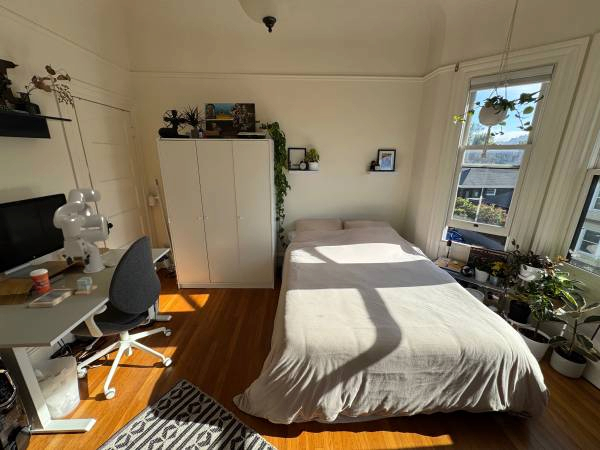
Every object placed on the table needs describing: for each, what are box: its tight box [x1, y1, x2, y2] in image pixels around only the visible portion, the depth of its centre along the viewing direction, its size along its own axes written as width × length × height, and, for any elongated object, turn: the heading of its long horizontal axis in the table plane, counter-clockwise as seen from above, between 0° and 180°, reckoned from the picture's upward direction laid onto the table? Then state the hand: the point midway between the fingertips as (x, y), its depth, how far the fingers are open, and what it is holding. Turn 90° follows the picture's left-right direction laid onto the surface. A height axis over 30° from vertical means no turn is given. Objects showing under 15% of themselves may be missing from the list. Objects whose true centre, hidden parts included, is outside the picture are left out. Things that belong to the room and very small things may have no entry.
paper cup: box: [29, 268, 51, 295], centre depth 150 cm, size 8×8×14 cm
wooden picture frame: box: [28, 288, 76, 309], centre depth 143 cm, size 16×12×2 cm
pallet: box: [74, 276, 98, 296], centre depth 153 cm, size 9×7×8 cm
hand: (79, 264), depth 148 cm, fingers open, 9 cm apart
